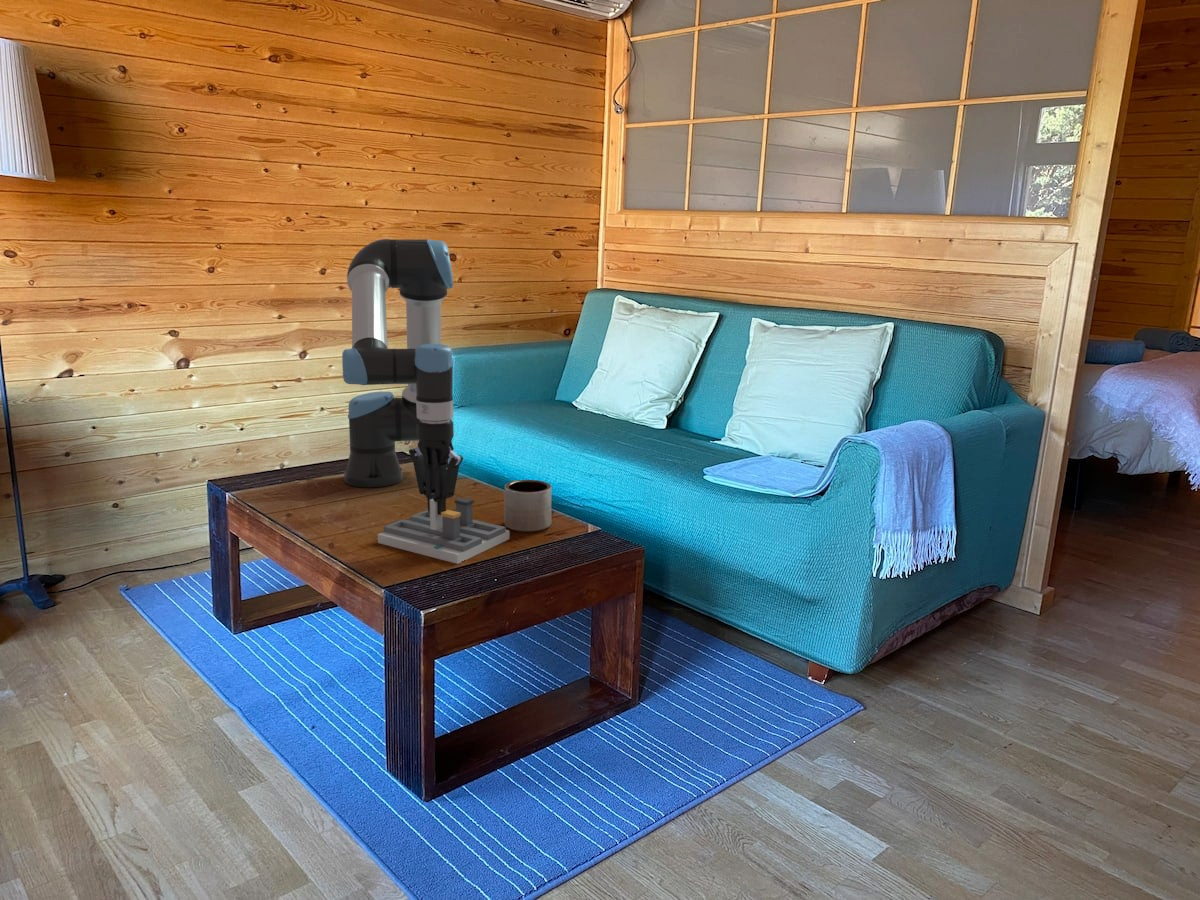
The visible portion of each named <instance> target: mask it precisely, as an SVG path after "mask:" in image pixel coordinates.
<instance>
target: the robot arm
mask: <svg viewBox="0 0 1200 900" xmlns="http://www.w3.org/2000/svg"><path fill="white" fill-rule="evenodd" d="M346 274H347V275H346V283H347V286H348V288H349V290H350V292H351V348H347V349H344V350H343V351H342V355H341V361H342V362H341V365H342V379H343V382H344V383H345V384H347V385H361V386H369V385H371V386H375V385H377V386H378V385H407V386H406V387H405V388H404V389H402V392H401V397H395V395H394V393H393V392H391V391H375V392H374V391H372V392H368V393H364V394H363V393H362V394H360V395H356V396H355V397H352V398H351V399H350V400H349V402H348V414H347V418H348V423H349V424H348V425H349V426H348V427H349V457H348V459H347V464H346V469H345V470H344V482H345V484H347V485H349V486H353V487H356V488H357V487H358V488H381V487H388V486H394V485H396V484H399V483H400V482H402V480H403V479H404V478H403V477H404V475H403V469H402V467H401V466H400V461H399V459H398V456H397V453H396V442H417V446H416V447H414V448H411V449H409V450H408V453H409V456H410V458H411V460H412V463H413V464H412V465H413V467H414V468H413V469H414V472H415V477H416V482H417V487H418V492H419V494H420V495H423V496H425V497H426V500H427V510H428V512H429V513H430V529H432V530H438V529H440V528H443V525H442V516H441V513H442V512H444V511H447V499H450V498H453V497H454V496H455V491H456V486H457V481H458V475H459V469H460V466H461V464H462V462H463V460H464V457H463V455H461V454H459V455H458V454H457V453H456V452H455V451H454V449H455V448H454V446H453V443H452V441H453V439H454V433H455V432H454V431H455V430H454V421H453V418H454V396H453V391H454V390H453V387H454V386H453V381H454V378H453V376H454V375H453V374H454V373H453V372H454V371H453V368H454V367H453V366H454V360H453V359H454V358H453V352H452V351H453V350H452V348H451V346H449V345H448V344H447V345H446V344H442V301H443V300H445V299H446V298H447V297H448V290H451V289H453V288H454V280H453V271H452V265H451V259H450V252H449V247H448V245H447V244H446V242H445V241H443V240H434V239H433V240H432V239H429V238H427V239H426V238H425V239H419V238H418V239H409V238H408V239H407V238H406V239H405V238H403V239H401V238H399V239H390V238H383V239H382V238H381V239H378V240H375V241H372V242H370V243H369V244H367V245H365V246H364V247H363V248H361V249H360V250H359V251H358V252H357V253H356V254H355V256H354V257H353V258H352V260H351V261H350V263H349V266H348V269H347V273H346ZM389 288H391V289H399V297H401V298H402V299H403V300H405V304H406V305H405V306H406V307H405V309H406V310H405V312H406V317H405V318H406V348H389V347H388V345H389V344H388V343H389V342H388V324H387V323H388V322H387V304H386V303H387V302H386V300H387V299H386V292H387V291H388V290H389Z"/></svg>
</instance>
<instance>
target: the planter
mask: <svg viewBox="0 0 1200 900" xmlns="http://www.w3.org/2000/svg"><path fill="white" fill-rule="evenodd" d="M503 514H504V517H503V518H504V519H503V522H504V525H505V526H504V527H506V528H508V529H509V530H511V531H515V532H520V533H536V532H541V531H545V530H546V529H548V528H549V527H550V526H551V525H552V485H551V484H550V483H548V482H547V481H543V480H538V479H519V480H512V481H510V482H508V483H506V484H505V485H504V513H503Z"/></svg>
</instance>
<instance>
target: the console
mask: <svg viewBox="0 0 1200 900" xmlns="http://www.w3.org/2000/svg"><path fill="white" fill-rule="evenodd" d="M409 519H410V520H409ZM409 519H404V518H403V519H400V520H397V521H394V522H392V523H390V524H387V525H384V526H383V532H380V533H378V534H377V544H381V545H384V546H388V547H392V548H395V549H400V550H403V551H407V552H411V553H415V554H419V555H423V556H427V557H430V558H434V559H438V560H442V561H445V562H449V563H453V564H460V563H463V562H465V561H468V559H471V558H473V557H475V556H476V555H477V556H478V555H479V554H482V553H483V552H485V551H487V550H489V549H492V548H494V547H496V546H498V545H500V544H502V543H504V542H506V541H508V540H510V529H509V530H508V529H506V528H507V527H506V526H502V525H497V524H495V523H494V524H493V523H489V522H485V521H481V520H476V519H473V524H475V528H470V527H466V526H462V525H460V537H461V538H462V542H457V541H453V540H449V539H445V538H441V537H442V536H443V528H440V529H438V530H432V529H430V513H429V512H428V509H426V510H423V511H421V512H417V513H415V514H413V515H410V517H409ZM464 560H465V561H464ZM462 561H463V562H462Z"/></svg>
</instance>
